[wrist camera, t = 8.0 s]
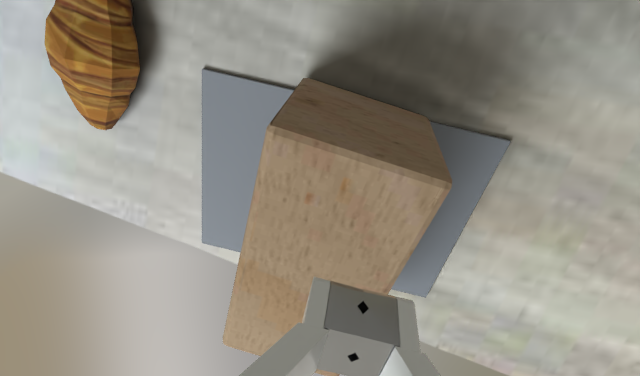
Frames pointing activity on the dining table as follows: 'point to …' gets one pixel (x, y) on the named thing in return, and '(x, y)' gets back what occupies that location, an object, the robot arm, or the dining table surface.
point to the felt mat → (244, 156)
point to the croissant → (94, 56)
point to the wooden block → (331, 207)
